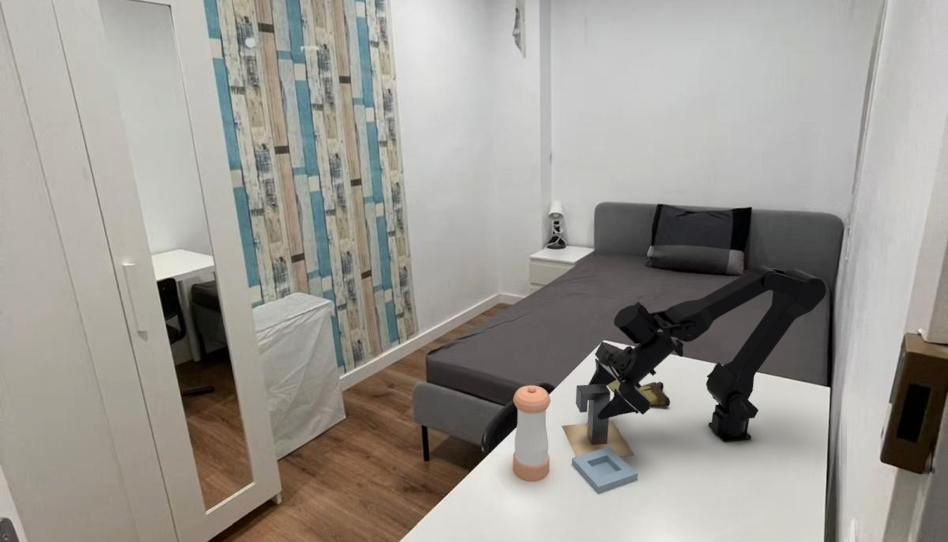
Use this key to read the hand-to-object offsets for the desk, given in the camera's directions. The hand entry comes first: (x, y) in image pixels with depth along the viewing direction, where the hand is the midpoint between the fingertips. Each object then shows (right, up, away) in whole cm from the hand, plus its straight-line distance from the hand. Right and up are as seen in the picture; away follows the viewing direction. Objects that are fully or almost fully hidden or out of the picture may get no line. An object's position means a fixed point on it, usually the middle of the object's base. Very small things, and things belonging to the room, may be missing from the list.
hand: (591, 405), depth 108 cm
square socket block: (+1, -12, -7) cm, 14 cm away
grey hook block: (0, -8, +3) cm, 9 cm away
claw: (+16, -2, +23) cm, 28 cm away
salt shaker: (-14, -12, -5) cm, 19 cm away
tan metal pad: (+2, -9, +3) cm, 9 cm away
